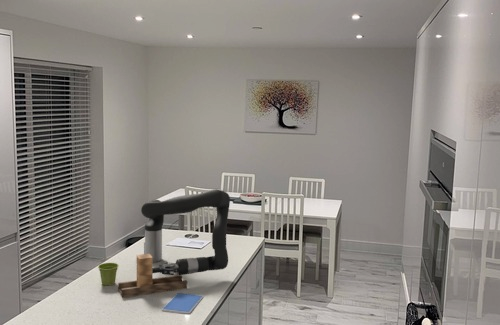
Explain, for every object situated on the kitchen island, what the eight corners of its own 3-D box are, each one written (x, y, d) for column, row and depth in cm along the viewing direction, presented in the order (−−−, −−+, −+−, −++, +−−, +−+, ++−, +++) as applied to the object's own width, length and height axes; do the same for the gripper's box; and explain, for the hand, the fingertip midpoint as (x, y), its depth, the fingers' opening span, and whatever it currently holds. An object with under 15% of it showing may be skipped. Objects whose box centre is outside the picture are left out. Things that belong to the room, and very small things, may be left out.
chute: (181, 281, 232) (181, 274, 232) (187, 288, 223) (187, 281, 222) (118, 289, 219) (118, 282, 219) (122, 297, 210) (121, 290, 210)
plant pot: (122, 281, 230) (122, 264, 229) (110, 288, 221) (110, 270, 220) (106, 278, 233) (106, 261, 232) (94, 285, 224) (93, 267, 223)
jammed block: (149, 284, 223) (149, 253, 222) (152, 289, 218) (152, 257, 216) (136, 286, 221) (136, 255, 219) (139, 291, 215) (139, 258, 214)
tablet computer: (177, 294, 217) (177, 292, 216) (204, 297, 214) (204, 294, 214) (160, 312, 198) (160, 309, 198) (189, 315, 195) (189, 312, 195)
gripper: (183, 254, 233) (147, 258, 225) (191, 262, 221) (154, 267, 213) (182, 269, 233) (147, 273, 226) (191, 278, 221) (154, 283, 214)
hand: (151, 270), depth 220 cm, fingers closed
